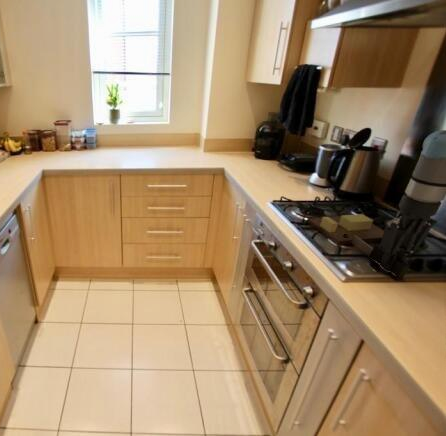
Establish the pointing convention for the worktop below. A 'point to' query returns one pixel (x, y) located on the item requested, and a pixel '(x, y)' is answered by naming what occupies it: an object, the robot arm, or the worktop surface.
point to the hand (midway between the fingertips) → (387, 270)
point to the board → (347, 232)
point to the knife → (377, 254)
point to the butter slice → (328, 224)
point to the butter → (355, 222)
